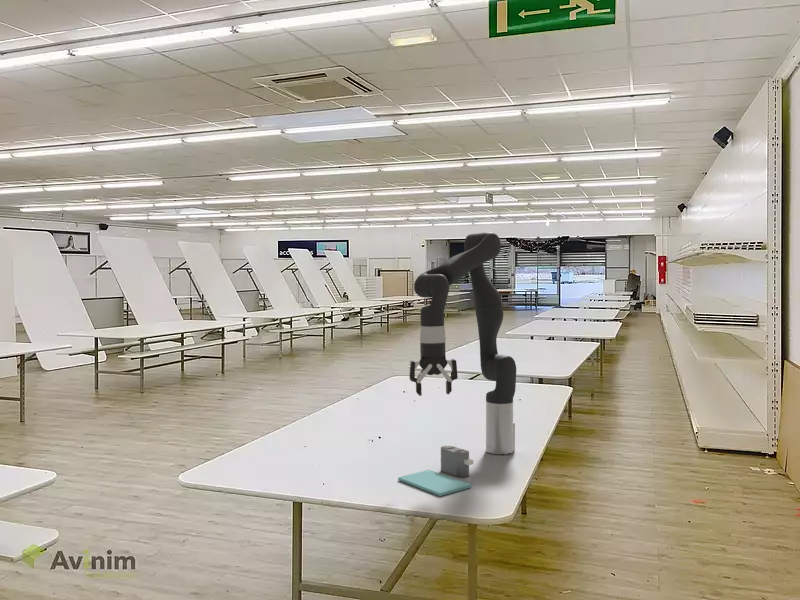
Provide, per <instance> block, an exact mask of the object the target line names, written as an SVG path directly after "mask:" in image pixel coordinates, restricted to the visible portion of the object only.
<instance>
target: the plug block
mask: <svg viewBox="0 0 800 600" xmlns="http://www.w3.org/2000/svg"><path fill="white" fill-rule="evenodd" d="M471 465H474V459H471V458H470V451H469V450H466V449H464V448H461V447H460V448H459V447H456V446H452V445H443V446H440V471H441V472H443V473H446V474H449V475H452V476H455V477H458V478H466V477H469V476H470V466H471Z"/></svg>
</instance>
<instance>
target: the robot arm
mask: <svg viewBox="0 0 800 600" xmlns="http://www.w3.org/2000/svg"><path fill="white" fill-rule="evenodd" d="M501 242H502V241H501V239H500V237H499V236H498V234H496V233H495V232H491V231H485V232H477V233H475V232H474V233H471V234H467V236H465V239H464V245H463V248H464V252H461V253H458V254H456V255H453V256H451V257H450V258H448V259H446V260H445V261H444V262H442V263H441V264H440V265H439V266H437V267H433V268H431V269H429V270H427V271H424V272H423V273H421V274H420V275H418V276H417V278H416V279H415V281H414V284H413V291H414V293H415V294H416V295H417V296H418V297H419V298H420V297H421V298H424V299H425V298H426V299H431V302H430V304H429V305H425V306H423V307H421V308H420V313H419V314H420V331H419V342H420V343H419V345H420V347H419V349H420V358H419V359H420V360H418V361H416V360H410V363H409V380H410V382H413V383H415V393H416V394H417V395H418V396H420V397H421V396H422V395H423V394H422V393H423V392H422V383H421V382H422V381H423V379H424V378H425V377H426V375H428V376H433V375H436V376H437V375H438V376H439V375H442V376H443V377H444V379H445V380H446V381H445V392H446V393H445V394H447V395H450V394H451V393H452V390H453V389H452V387H453V386H452V385H453V384H452V382H453V381H455V380H458V366H457V360H456V359H454V358H451V359H447V357H446V338H447V337H446V329H445V317H444V316H445V315H444V314H445V309H446V305H447V299H448V296H449V292H450V291H449V290H450V286H452V285H453V284H454V283H456V282H458V280H460V279H461V278H462V277H464V276H466V275H467V274H468V273H469V277H470V282H471V287H472V294H473V303H474V310H475V317H476V322H477V330H478V339H479V340H478V341H479V355H480V356H479V357H480V358H479V359H480V370H481V373H482V376H483V377H484V378H485V379H486V380H488V381H493V382H495V388H494V389H493V390H490V391H488V392H487V393H486V394H485V451H486V452H487V453H488V454H491V455H500V454H501V455H502V454H504V455H509V453H510V454H512V453H514V451H513V450H515V451H516V423H515V422H514V397H515V395H516V394H515V393H516V388H517V387H516V384H517V365H516V361H515V359H514V358H513V356H511V355H506V354H505V355H504V354H499V353H498V347H497V338H498V334H499V331H500V328H501V326H502V323H503V319H504V308H503V301H502V296H501V294H500V292H499V291H498V289H497V288H496V286H495V285H494V284H493V282H492V281H491V280H490V278H489V277H488V275H487V273H486V270H485V265H484V263H487V262H489V261H491V260H494V259H496V258H497V257H498V255H500V253H501V248H502V245H501ZM418 366H419V367H420V368H421V370H420V372H419V373H418V375H417V377H415V376H416V369H417V368H418ZM447 366H449V367H450V368H451V375H449V373H447V371H446V370H445V368H446V367H447ZM502 456H503V455H502Z"/></svg>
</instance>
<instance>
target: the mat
mask: <svg viewBox="0 0 800 600" xmlns="http://www.w3.org/2000/svg"><path fill="white" fill-rule="evenodd" d="M397 480H398V481H399V482H402V483H405V484H407V485H410V486H412V487H416V488H417V489H421V490H423V491H426V492H428V493H431V494H433V495H435V496H439V497H441V496H442V497H443V496H446V495H448V494H449V495H450V494H453V493H455V492H460V491H462V490H467V489H470V488H472V483H469V482H466V481H463V480H460V479H457V478H455V477H451V476H449V475H447V474H443V473H440V472H437V471H434V470H432V469H426V470H423V471H418V472H416V473H414V472H413V473H411V474H410V473H409V474H406V475H402V476H398V478H397Z"/></svg>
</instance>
